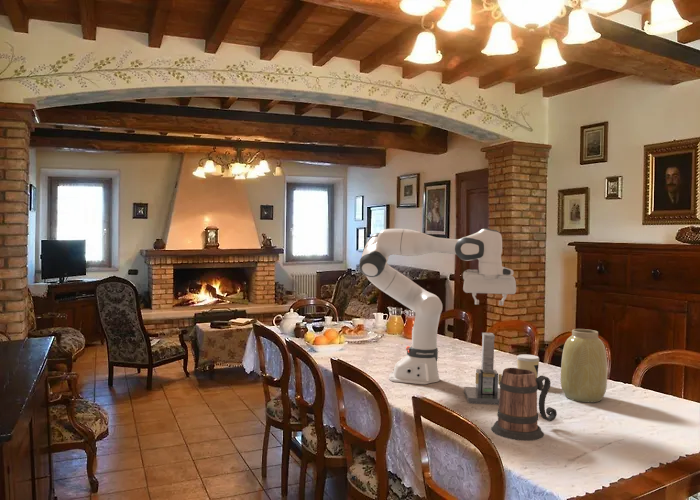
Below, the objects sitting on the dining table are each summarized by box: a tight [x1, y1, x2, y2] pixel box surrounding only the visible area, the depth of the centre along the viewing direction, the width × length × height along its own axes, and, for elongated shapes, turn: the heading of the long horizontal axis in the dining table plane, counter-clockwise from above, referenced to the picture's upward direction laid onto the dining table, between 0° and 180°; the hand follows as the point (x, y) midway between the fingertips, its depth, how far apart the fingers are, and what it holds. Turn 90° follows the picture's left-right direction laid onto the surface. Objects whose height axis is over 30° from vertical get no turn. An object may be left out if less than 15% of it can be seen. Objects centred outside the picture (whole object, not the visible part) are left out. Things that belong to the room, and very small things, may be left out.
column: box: [481, 332, 496, 394], centre depth 223 cm, size 4×6×23 cm, turn 175°
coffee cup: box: [516, 353, 540, 379], centre depth 246 cm, size 9×9×12 cm
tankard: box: [490, 367, 558, 442], centre depth 187 cm, size 24×17×20 cm
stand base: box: [463, 368, 503, 406], centre depth 223 cm, size 16×16×11 cm
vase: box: [560, 328, 608, 403], centre depth 226 cm, size 17×17×27 cm
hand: (489, 304), depth 222 cm, fingers open, 8 cm apart
